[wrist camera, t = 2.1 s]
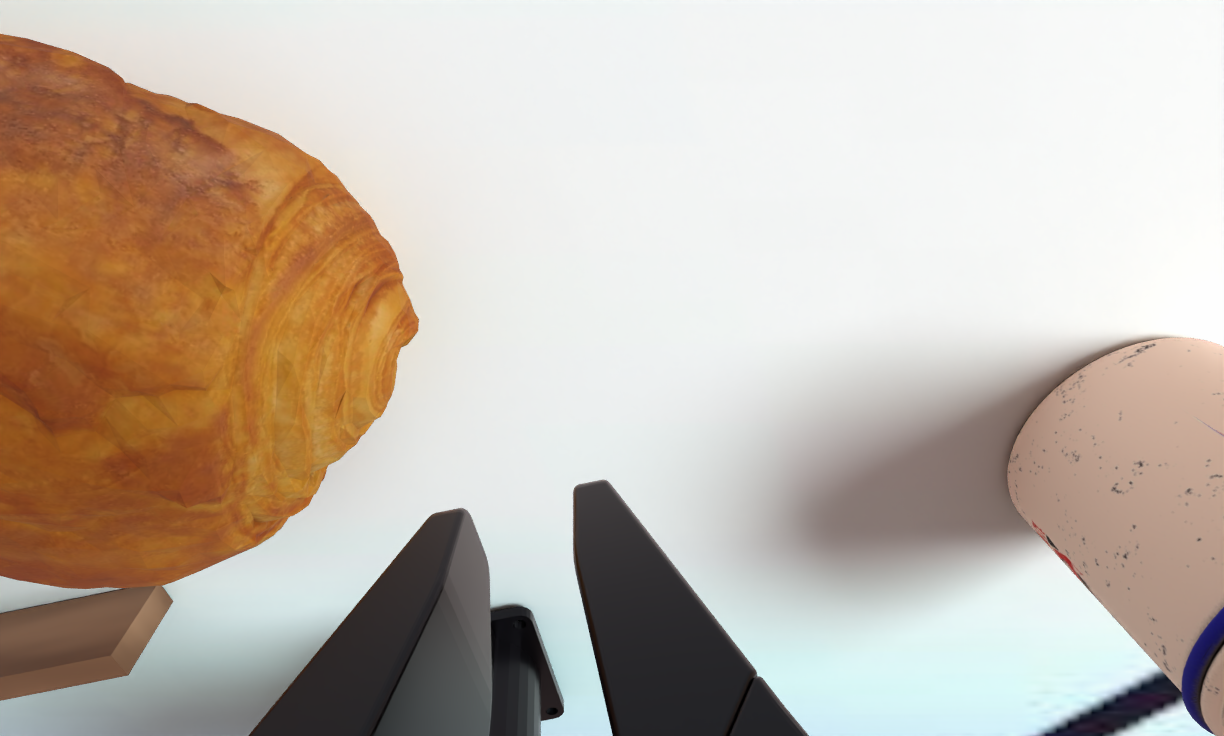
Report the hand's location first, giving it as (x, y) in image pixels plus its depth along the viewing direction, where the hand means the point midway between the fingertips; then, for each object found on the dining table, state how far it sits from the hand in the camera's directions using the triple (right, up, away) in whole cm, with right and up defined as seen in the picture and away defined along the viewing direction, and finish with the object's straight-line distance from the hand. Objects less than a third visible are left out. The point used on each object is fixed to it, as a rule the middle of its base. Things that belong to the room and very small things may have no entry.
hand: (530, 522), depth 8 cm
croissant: (-13, +4, +11) cm, 17 cm away
